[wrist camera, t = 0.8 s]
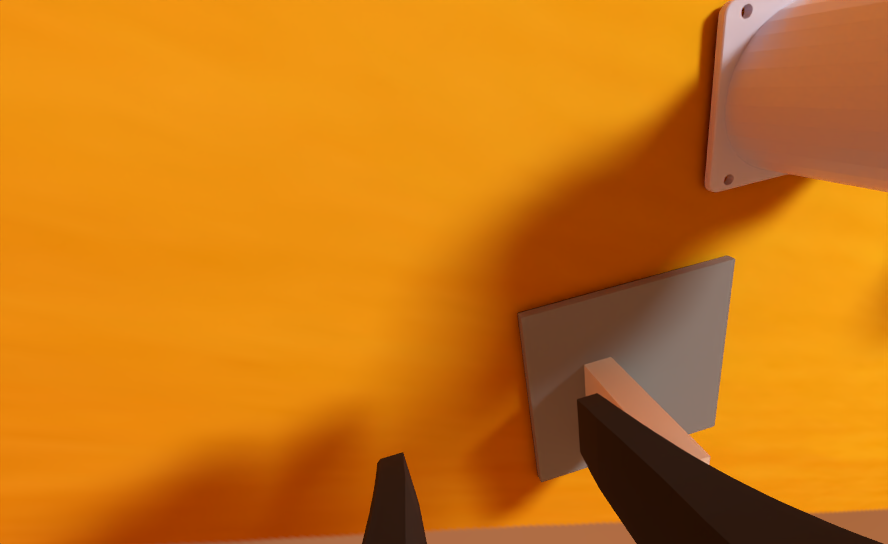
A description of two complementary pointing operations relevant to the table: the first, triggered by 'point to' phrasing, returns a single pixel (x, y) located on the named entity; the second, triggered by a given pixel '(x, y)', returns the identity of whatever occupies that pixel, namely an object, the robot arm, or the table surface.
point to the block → (637, 403)
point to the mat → (627, 353)
